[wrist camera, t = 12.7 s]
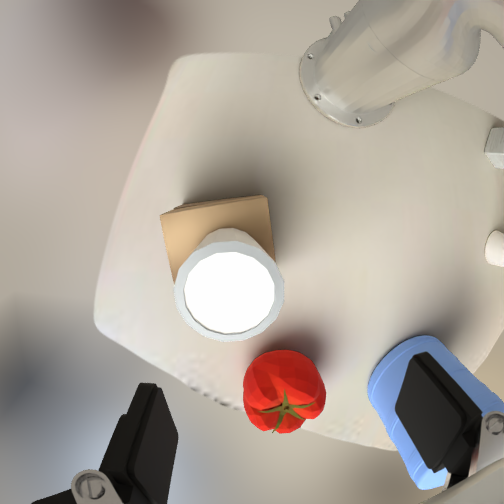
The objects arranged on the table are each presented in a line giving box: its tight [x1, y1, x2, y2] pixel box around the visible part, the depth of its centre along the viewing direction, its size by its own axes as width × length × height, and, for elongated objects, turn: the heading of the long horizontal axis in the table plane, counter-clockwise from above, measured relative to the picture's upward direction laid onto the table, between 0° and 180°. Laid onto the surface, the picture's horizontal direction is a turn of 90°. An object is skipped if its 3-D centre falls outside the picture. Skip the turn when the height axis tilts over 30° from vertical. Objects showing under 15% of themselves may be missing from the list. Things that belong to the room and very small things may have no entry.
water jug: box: [368, 335, 504, 490], centre depth 26 cm, size 16×16×28 cm
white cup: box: [174, 228, 284, 342], centre depth 20 cm, size 7×7×7 cm
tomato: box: [243, 350, 326, 433], centre depth 33 cm, size 11×12×9 cm
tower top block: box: [160, 195, 276, 285], centre depth 26 cm, size 9×9×4 cm
